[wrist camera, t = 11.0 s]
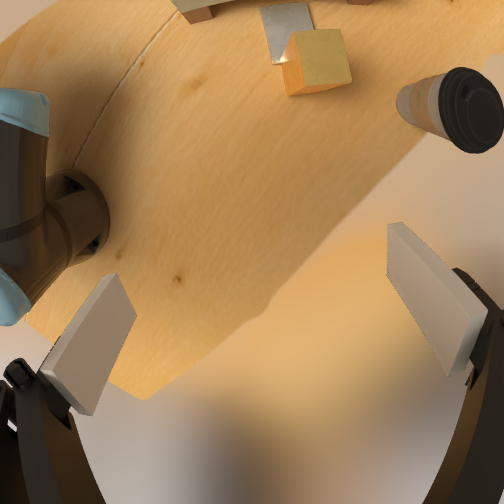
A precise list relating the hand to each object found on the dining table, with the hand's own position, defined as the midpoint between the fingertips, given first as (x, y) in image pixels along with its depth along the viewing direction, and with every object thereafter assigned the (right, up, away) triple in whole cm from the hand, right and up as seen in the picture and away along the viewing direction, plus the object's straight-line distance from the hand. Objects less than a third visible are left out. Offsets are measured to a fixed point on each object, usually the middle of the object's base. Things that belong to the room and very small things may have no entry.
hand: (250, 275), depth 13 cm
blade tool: (+5, +27, +16) cm, 32 cm away
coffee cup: (+23, +22, +19) cm, 37 cm away
